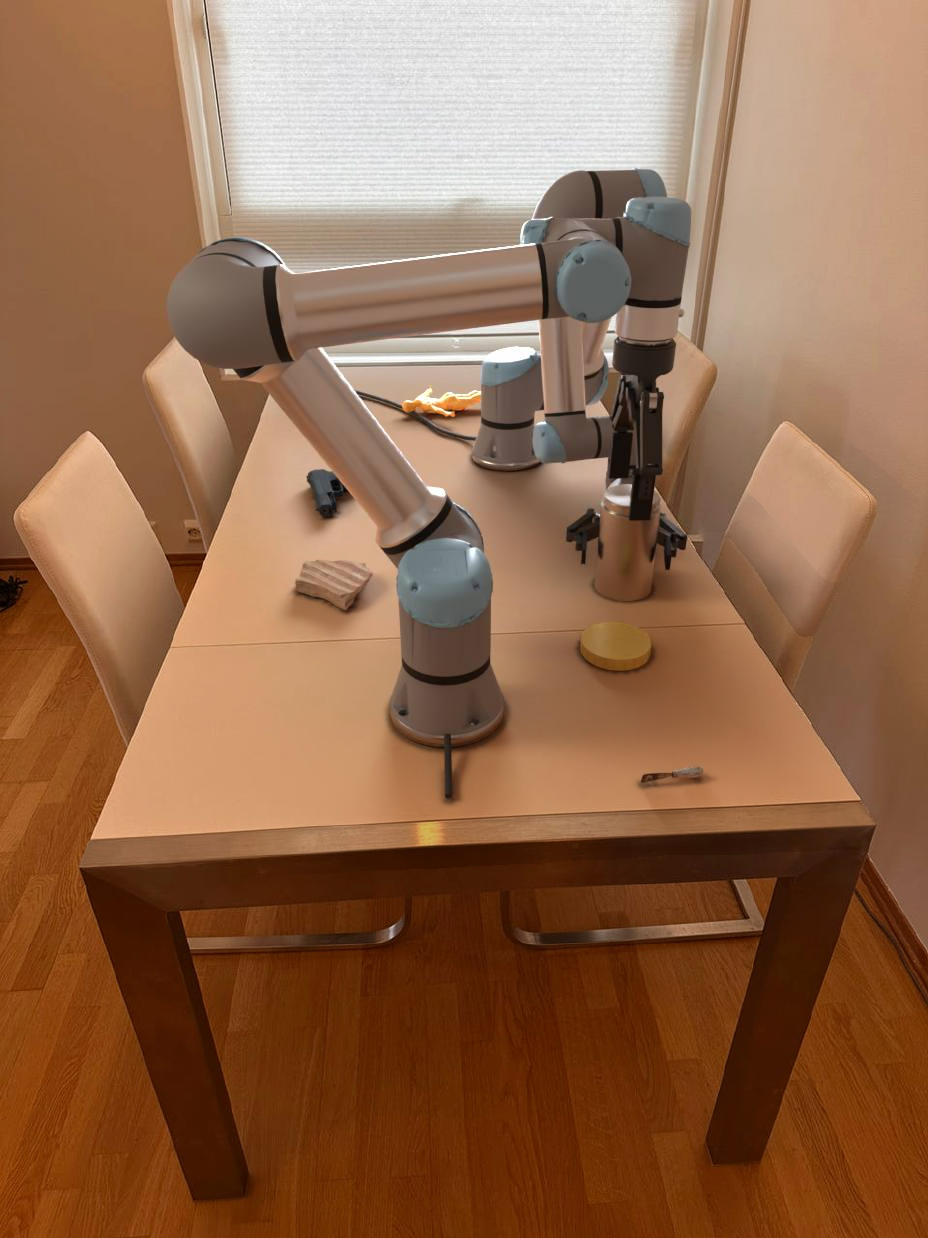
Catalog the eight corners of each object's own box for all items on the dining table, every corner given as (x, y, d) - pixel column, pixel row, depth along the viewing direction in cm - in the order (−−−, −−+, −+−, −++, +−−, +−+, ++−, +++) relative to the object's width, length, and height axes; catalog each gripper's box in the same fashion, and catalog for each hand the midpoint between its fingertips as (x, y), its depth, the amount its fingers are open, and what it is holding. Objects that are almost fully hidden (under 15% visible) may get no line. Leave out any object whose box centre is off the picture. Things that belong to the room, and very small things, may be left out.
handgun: (377, 512, 175) (316, 519, 172) (362, 476, 189) (305, 483, 186) (376, 497, 173) (315, 504, 171) (361, 462, 187) (303, 469, 185)
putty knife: (703, 777, 109) (705, 767, 109) (642, 788, 108) (644, 777, 107) (700, 772, 110) (702, 762, 109) (639, 782, 109) (640, 771, 108)
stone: (382, 577, 152) (381, 564, 151) (347, 611, 143) (346, 598, 142) (316, 564, 157) (314, 551, 155) (279, 596, 147) (277, 583, 146)
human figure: (395, 413, 223) (394, 398, 221) (438, 390, 237) (438, 375, 235) (462, 429, 215) (462, 413, 213) (502, 404, 229) (503, 388, 227)
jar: (589, 596, 147) (596, 503, 138) (600, 569, 155) (607, 480, 146) (646, 605, 145) (657, 511, 136) (654, 577, 152) (665, 487, 143)
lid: (580, 669, 129) (581, 658, 128) (579, 630, 138) (580, 619, 137) (652, 673, 129) (654, 661, 128) (647, 633, 137) (648, 623, 136)
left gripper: (704, 366, 99) (679, 538, 110) (652, 312, 120) (636, 461, 131) (637, 367, 98) (619, 539, 109) (597, 313, 119) (585, 462, 131)
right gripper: (693, 528, 163) (701, 585, 145) (556, 519, 166) (547, 574, 148) (698, 490, 159) (707, 544, 141) (558, 482, 162) (549, 534, 144)
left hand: (628, 497), depth 120 cm, fingers open, 13 cm apart
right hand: (625, 560), depth 145 cm, fingers open, 13 cm apart
